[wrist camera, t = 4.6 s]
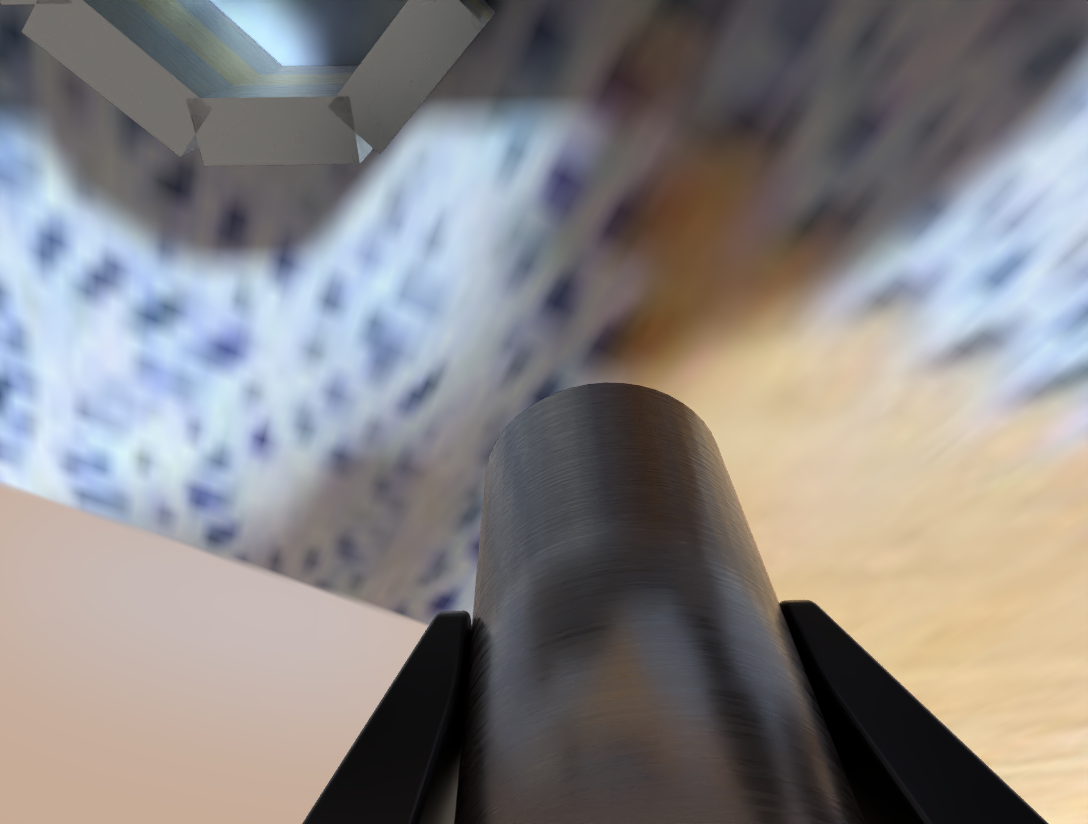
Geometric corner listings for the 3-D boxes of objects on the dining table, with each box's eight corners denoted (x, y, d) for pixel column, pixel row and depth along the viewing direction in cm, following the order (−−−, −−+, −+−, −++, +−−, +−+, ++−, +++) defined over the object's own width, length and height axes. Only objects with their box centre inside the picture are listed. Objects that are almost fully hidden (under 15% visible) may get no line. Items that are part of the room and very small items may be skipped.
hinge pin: (735, 378, 10) (1551, 2009, 2) (708, 564, 13) (1055, 1728, 4) (475, 386, 10) (256, 2043, 2) (494, 571, 13) (419, 1749, 4)
